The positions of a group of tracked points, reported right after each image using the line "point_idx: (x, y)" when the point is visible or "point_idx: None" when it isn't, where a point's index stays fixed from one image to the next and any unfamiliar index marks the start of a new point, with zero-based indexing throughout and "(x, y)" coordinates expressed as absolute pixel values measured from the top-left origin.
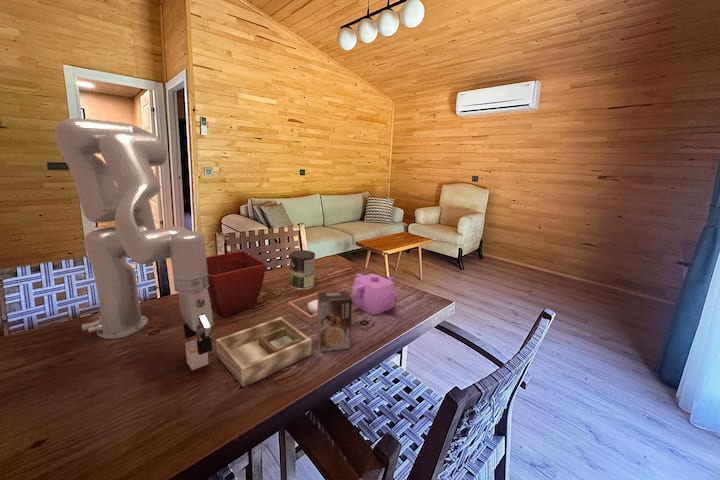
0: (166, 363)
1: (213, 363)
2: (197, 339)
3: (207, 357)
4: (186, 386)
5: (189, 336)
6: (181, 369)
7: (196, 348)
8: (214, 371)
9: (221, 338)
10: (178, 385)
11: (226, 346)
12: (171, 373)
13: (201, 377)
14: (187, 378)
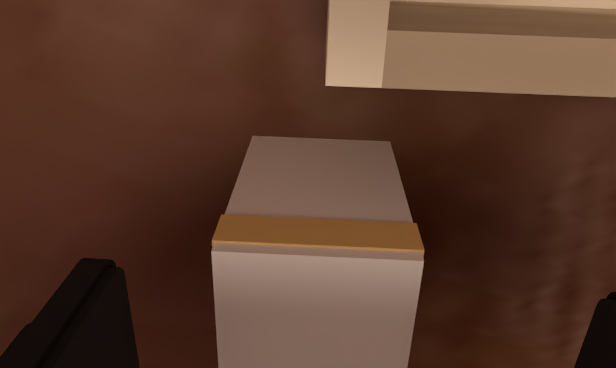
0: (175, 341)
1: (416, 108)
2: (237, 301)
3: (396, 174)
4: (518, 333)
5: (130, 356)
6: None
7: (405, 355)
8: (527, 146)
9: (346, 7)
10: (467, 358)
11: (610, 49)
12: None
13: (512, 241)
14: (443, 305)
